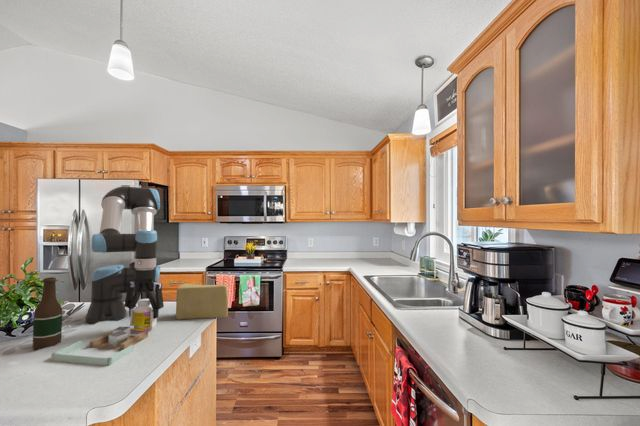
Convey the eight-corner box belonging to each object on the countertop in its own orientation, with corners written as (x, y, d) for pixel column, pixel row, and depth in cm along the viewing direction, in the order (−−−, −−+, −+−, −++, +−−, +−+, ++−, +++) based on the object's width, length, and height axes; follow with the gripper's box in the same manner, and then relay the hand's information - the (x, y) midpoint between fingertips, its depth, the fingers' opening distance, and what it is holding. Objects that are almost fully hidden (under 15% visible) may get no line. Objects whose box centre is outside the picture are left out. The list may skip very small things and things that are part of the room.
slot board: (116, 336, 117) (116, 329, 117) (147, 339, 115) (148, 331, 115) (89, 350, 105) (89, 341, 105) (123, 353, 103) (124, 344, 103)
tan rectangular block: (229, 313, 148) (230, 282, 148) (224, 320, 138) (225, 287, 138) (183, 313, 147) (184, 282, 147) (174, 320, 137) (175, 286, 137)
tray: (80, 349, 105) (80, 340, 105) (133, 354, 103) (133, 345, 103) (51, 363, 95) (51, 353, 95) (109, 368, 93) (109, 358, 93)
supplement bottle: (143, 336, 118) (145, 303, 118) (129, 334, 119) (130, 301, 119) (156, 330, 125) (157, 298, 125) (142, 328, 126) (143, 297, 126)
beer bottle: (66, 344, 109) (69, 277, 110) (40, 353, 102) (43, 281, 102) (52, 340, 112) (55, 275, 112) (26, 349, 104) (29, 279, 105)
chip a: (118, 337, 114) (119, 326, 114) (129, 337, 114) (130, 326, 114) (112, 341, 110) (112, 330, 110) (123, 341, 110) (124, 330, 110)
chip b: (119, 342, 110) (119, 331, 110) (127, 344, 108) (127, 333, 108) (108, 346, 106) (108, 335, 106) (116, 348, 104) (116, 337, 104)
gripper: (114, 268, 120) (112, 327, 119) (163, 271, 117) (161, 330, 117) (128, 265, 127) (126, 320, 127) (175, 268, 125) (173, 324, 124)
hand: (143, 325), depth 122 cm, fingers open, 8 cm apart
